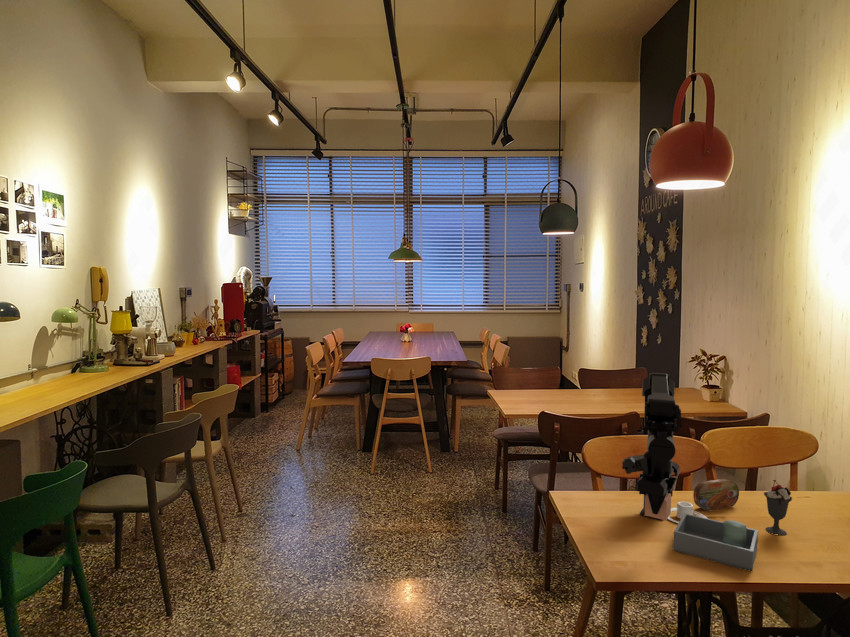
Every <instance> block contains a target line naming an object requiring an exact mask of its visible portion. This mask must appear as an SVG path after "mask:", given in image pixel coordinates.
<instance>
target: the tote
mask: <svg viewBox="0 0 850 637" xmlns="http://www.w3.org/2000/svg"><path fill="white" fill-rule="evenodd" d="M707 518H708V517H707ZM707 518H703V517H699V516H697V515H695V514H693V515H690V514H686V513H684V515H683V516H682V518H681V519H680V520H679V523H677V525H676V527H675V528H674V531H673V541H672V542H673V543H672V545H673V546H672V551H675V552H677V553H680V554H681V553H682V554H685V555H688V556H693V557H695V558H700V559H704V560H707V561H711V562H714V563H718V564H721V565H725V566H728V567H732V568H733V567H734V568H737V569H740V568H741V570H743V569H746V570H745V571H747V570H750V571H749V572H751V571H752V572H753V570H754V566H753V565H755V561H756V557H757V553H756V552H757V551H758V538H759V530H758V529H755V528H749V527H746V548H742V547H738V546H734V545H730V544H726V543H723V523H724V521H720V520H715V519H712V518H711V519H710V518H708V519H707Z"/></svg>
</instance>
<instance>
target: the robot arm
mask: <svg viewBox="0 0 850 637" xmlns="http://www.w3.org/2000/svg"><path fill="white" fill-rule="evenodd" d="M641 391H642V392H641V394H642V395H641V396H642V397H644V411H643V412H644V413H643V415H644V420H643V421H644V424H643V426H644V427H643V428H644V429H645V430H647V447H646V449H647V450H646V452H645V453H644V454H638V455H633V456H627V457H625V458H624V459H623V460H622V461H621V463H622V464H621V465H622V466H621V468H622V470H624V471H625V474H627V475H628V474H630V475H631V474H632V473H639V472H641V473H639V479H637V481H636V483H635V491H637V492H638V494H639V495H643V506H642V509H641V510H640V512H639V515H640V516H644V517H648V518H652V519H656V520H660V521H663V520H662V519H658V518H654V517H650V516H646V515H645V495H646V494H647V495H648V498H649V501H650V505H651V509H652V513H653V514H658V512H659V510H660V508H661V506H662V504H663V502H664V499H665V497H666V495H667V493H670V494H671V498H672V497H673V493H674V492H673V491H674V485H675V483H676V482H677V478H676V477H679V475H680V474H681V472H680V471H681V466H680V465H679V464H678V463H677V462H675V461H673V459H674V458H675V454H676V451H677V450H676V445H675V441H674V432H676V433H679V432H680V428H682V409H681V408H680V405H679V404H676V397H674V396H675V381H674V380H672V379H671V378H670V374H667V373H663V372H662V373H660V372H652V373H649V376H648V377H644V378H643V379H642V389H641ZM647 421H648V423H647ZM673 474H674V476H675V477H674V476H672V475H673Z"/></svg>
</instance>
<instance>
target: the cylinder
mask: <svg viewBox="0 0 850 637" xmlns="http://www.w3.org/2000/svg"><path fill="white" fill-rule="evenodd" d="M723 522H724V523H723V543H726V544H730V545H734V546H738V547H742V548H746V528H747V525H746V524H744V523H743V522H740V521H736V520H724V521H723Z"/></svg>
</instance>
